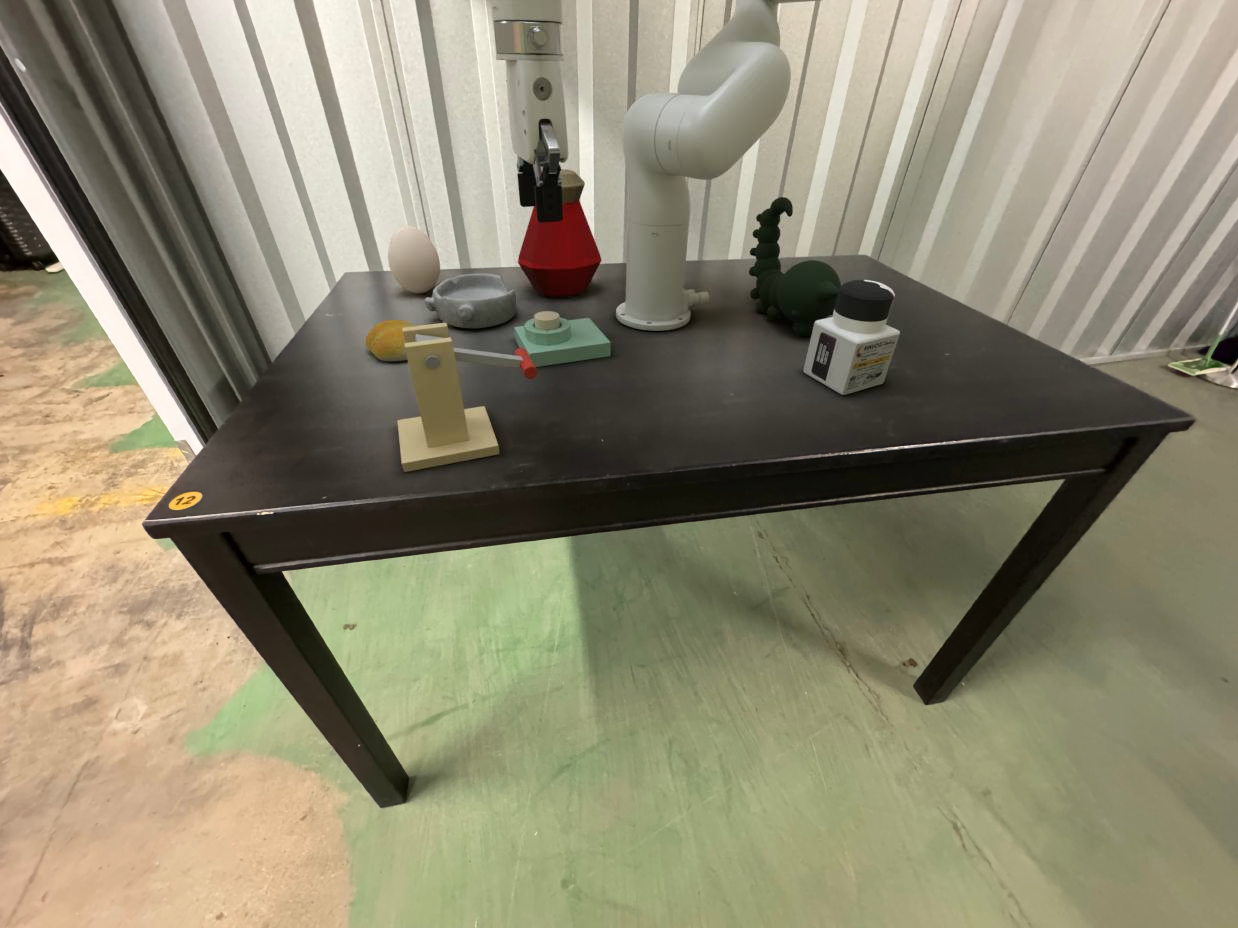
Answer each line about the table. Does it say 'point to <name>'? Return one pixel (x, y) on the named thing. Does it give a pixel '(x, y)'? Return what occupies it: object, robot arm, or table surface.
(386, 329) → the bread roll
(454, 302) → the dish
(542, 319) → the button
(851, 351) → the container
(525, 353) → the lever
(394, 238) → the egg
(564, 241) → the bottle
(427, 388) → the bracket
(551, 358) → the button panel
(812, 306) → the segmented green worm
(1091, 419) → the table surface
